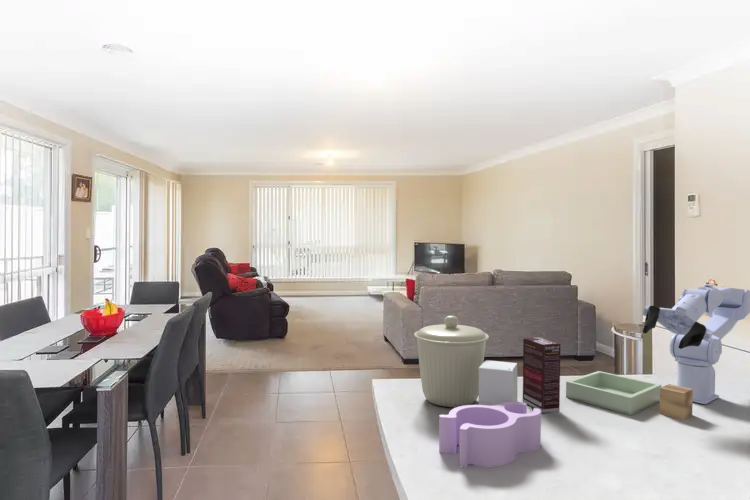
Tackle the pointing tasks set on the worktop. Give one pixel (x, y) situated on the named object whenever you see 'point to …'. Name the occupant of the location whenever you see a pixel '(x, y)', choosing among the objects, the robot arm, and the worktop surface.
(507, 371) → the supplement box
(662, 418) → the worktop surface
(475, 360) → the canister
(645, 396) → the bin
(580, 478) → the worktop surface
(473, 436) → the clip
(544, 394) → the supplement box
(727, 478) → the worktop surface
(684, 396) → the oak block
